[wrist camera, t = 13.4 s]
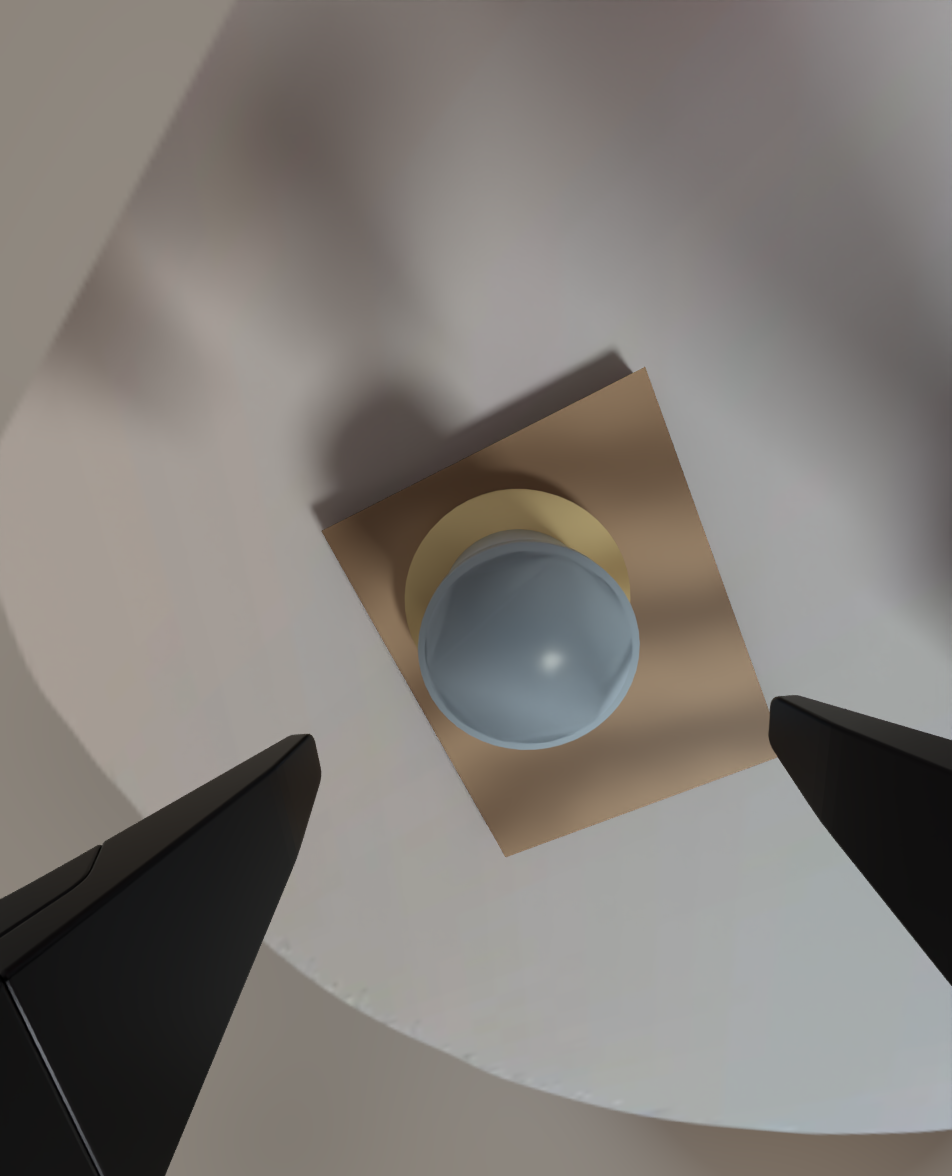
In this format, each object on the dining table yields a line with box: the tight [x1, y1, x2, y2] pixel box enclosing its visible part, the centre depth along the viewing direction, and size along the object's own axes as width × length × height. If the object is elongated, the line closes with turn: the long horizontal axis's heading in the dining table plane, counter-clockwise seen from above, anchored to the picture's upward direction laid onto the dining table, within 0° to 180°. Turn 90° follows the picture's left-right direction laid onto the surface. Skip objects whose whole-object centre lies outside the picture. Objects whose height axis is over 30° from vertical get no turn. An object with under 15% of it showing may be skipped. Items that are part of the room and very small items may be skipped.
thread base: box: [322, 367, 777, 857], centre depth 19 cm, size 18×14×2 cm
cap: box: [418, 529, 640, 750], centre depth 15 cm, size 6×6×5 cm
